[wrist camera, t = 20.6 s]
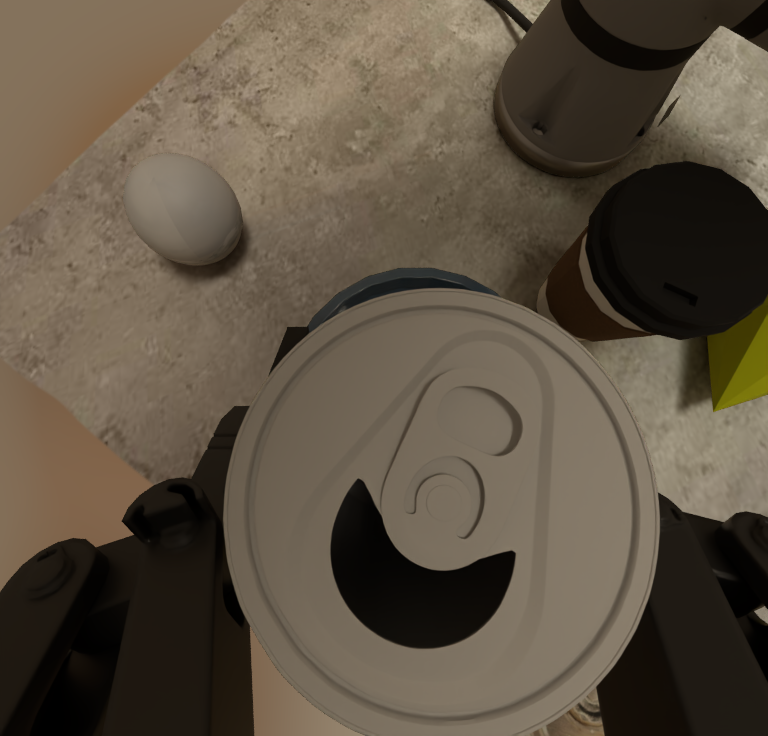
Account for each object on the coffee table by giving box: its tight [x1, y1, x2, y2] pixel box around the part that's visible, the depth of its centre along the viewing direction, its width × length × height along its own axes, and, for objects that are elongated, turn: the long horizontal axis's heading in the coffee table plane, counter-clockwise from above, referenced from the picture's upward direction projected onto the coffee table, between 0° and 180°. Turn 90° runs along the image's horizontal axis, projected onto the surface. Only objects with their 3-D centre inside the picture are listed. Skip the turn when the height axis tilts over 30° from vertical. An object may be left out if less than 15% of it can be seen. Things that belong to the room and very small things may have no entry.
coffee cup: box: [536, 161, 768, 342], centre depth 24 cm, size 11×11×12 cm
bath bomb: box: [123, 153, 243, 265], centre depth 25 cm, size 8×8×8 cm
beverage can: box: [223, 288, 660, 736], centre depth 10 cm, size 6×6×12 cm
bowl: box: [307, 268, 501, 333], centre depth 26 cm, size 20×20×5 cm
